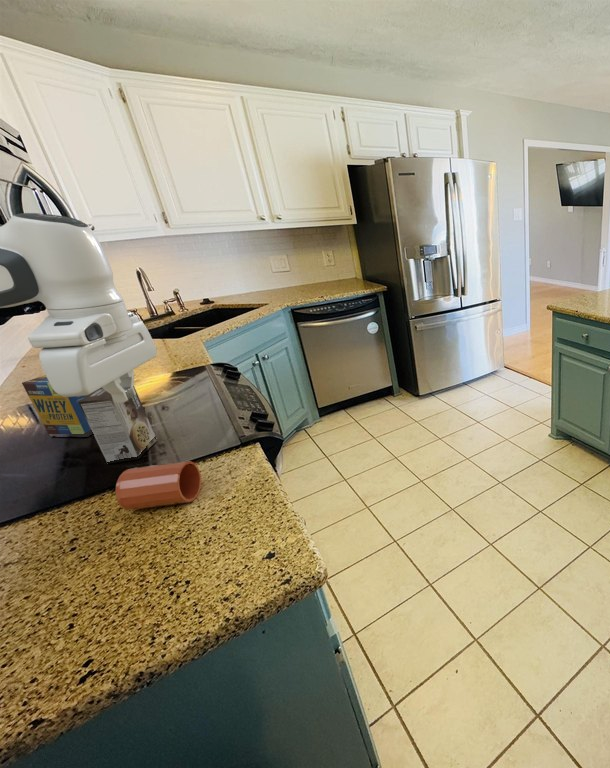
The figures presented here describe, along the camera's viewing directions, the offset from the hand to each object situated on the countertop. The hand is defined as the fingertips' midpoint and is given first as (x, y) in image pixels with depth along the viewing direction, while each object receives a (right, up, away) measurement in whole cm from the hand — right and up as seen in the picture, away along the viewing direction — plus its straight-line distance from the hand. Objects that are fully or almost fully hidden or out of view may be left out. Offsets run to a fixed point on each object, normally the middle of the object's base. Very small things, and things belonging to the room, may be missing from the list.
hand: (126, 399), depth 71 cm
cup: (-5, -17, +6) cm, 19 cm away
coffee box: (-23, -14, +26) cm, 37 cm away
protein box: (-46, -9, +40) cm, 62 cm away
